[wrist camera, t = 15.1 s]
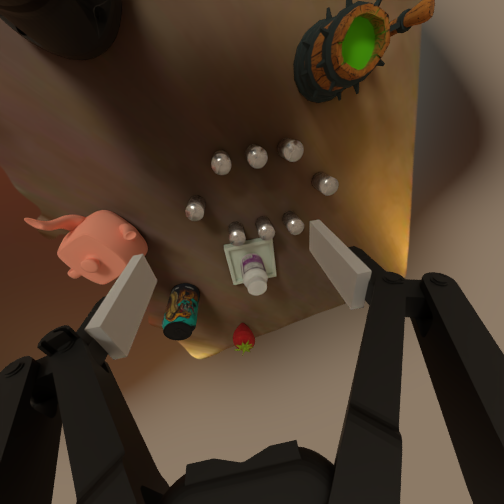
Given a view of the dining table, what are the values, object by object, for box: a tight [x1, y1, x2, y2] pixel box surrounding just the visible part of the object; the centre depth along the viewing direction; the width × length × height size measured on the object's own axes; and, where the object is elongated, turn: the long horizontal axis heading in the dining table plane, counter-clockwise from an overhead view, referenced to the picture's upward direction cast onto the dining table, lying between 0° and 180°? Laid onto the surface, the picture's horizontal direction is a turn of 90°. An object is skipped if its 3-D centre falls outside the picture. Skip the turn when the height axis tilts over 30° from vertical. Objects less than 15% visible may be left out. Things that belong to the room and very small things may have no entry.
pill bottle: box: [240, 253, 268, 295], centre depth 45 cm, size 5×5×10 cm
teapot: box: [24, 210, 148, 284], centre depth 37 cm, size 14×14×11 cm
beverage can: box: [162, 283, 200, 340], centre depth 47 cm, size 7×7×12 cm
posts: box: [185, 138, 339, 246], centre depth 39 cm, size 28×17×5 cm, turn 99°
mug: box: [293, 0, 435, 103], centre depth 27 cm, size 13×10×12 cm
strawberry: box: [233, 323, 255, 352], centre depth 58 cm, size 6×8×10 cm
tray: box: [224, 238, 276, 285], centre depth 49 cm, size 11×11×2 cm
